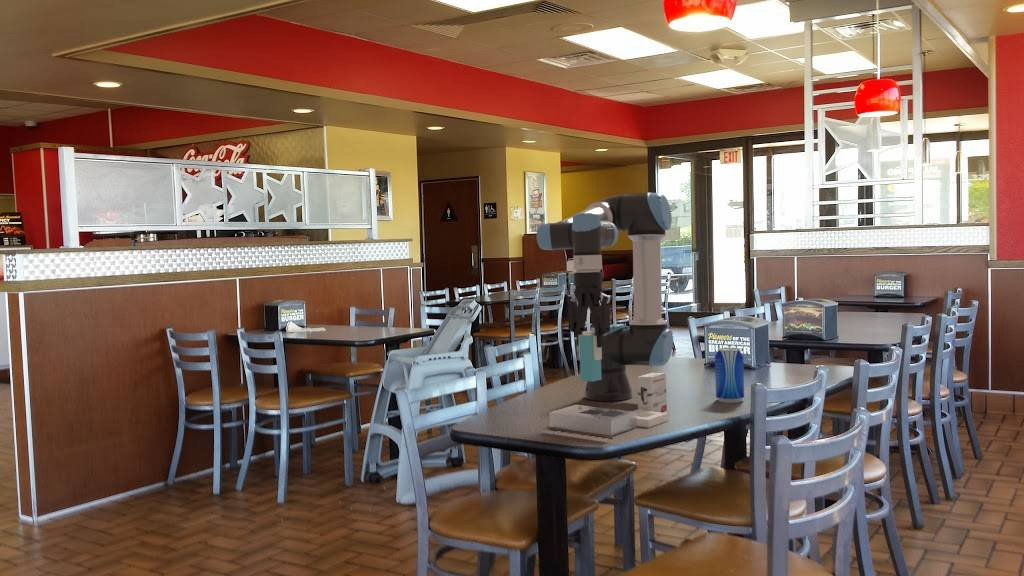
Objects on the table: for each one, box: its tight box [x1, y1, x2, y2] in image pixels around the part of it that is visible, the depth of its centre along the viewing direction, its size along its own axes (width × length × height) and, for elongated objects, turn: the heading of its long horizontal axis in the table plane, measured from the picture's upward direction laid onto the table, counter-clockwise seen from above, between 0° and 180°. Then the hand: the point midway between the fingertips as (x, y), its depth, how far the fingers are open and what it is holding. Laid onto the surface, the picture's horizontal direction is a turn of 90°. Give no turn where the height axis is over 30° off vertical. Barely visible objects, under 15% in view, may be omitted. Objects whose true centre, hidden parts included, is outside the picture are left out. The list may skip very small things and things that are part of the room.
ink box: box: [636, 372, 668, 413], centre depth 249 cm, size 9×5×12 cm, turn 141°
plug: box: [578, 330, 602, 382], centre depth 231 cm, size 4×4×13 cm
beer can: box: [714, 347, 745, 404], centre depth 266 cm, size 8×8×16 cm
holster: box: [632, 409, 669, 429], centre depth 237 cm, size 10×10×3 cm
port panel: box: [548, 404, 638, 440], centre depth 233 cm, size 20×12×6 cm, turn 49°
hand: (590, 358), depth 232 cm, fingers closed on plug, 4 cm apart
